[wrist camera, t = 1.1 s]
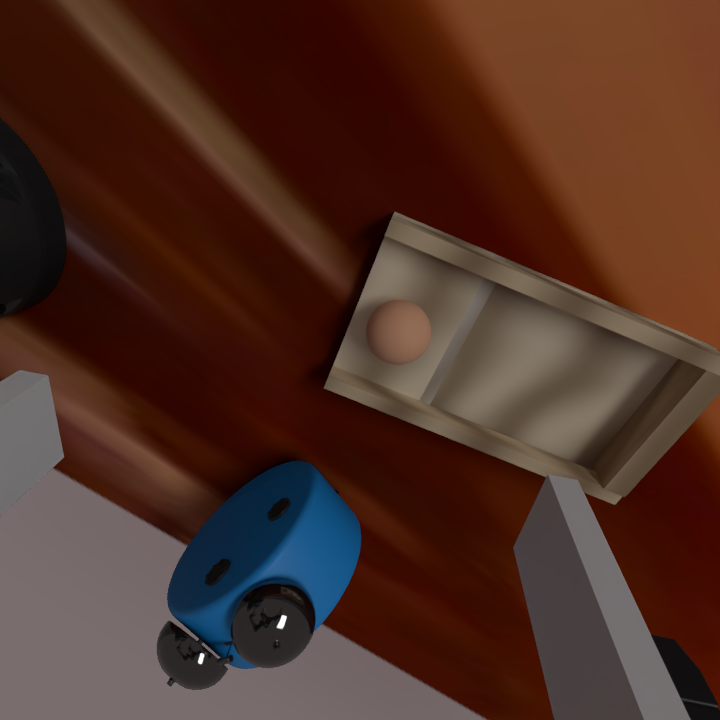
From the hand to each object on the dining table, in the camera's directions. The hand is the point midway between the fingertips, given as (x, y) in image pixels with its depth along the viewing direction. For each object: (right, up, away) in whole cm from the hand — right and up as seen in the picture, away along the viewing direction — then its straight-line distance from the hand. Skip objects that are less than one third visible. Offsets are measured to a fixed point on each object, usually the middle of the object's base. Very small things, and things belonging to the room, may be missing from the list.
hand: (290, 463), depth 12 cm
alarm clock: (-4, -8, +27) cm, 28 cm away
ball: (+4, +5, +16) cm, 17 cm away
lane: (+12, +3, +19) cm, 22 cm away
